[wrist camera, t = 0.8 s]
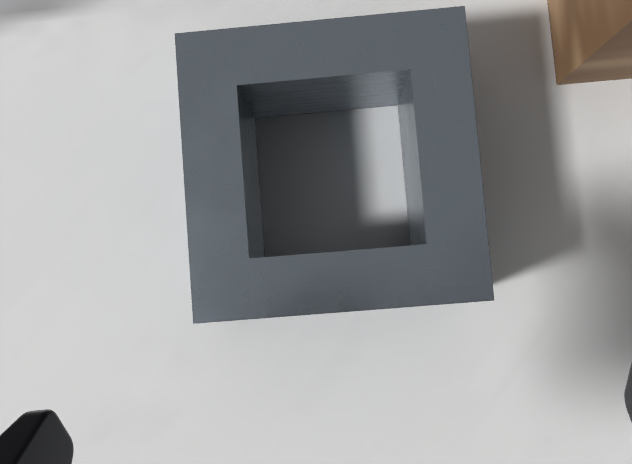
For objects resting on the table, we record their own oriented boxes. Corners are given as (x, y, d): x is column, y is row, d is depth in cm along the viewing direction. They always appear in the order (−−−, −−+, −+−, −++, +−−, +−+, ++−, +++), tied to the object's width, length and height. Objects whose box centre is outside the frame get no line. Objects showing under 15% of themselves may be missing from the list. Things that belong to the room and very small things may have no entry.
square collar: (466, 295, 22) (494, 300, 18) (219, 314, 22) (193, 323, 18) (442, 53, 23) (464, 5, 19) (203, 74, 23) (174, 33, 19)
